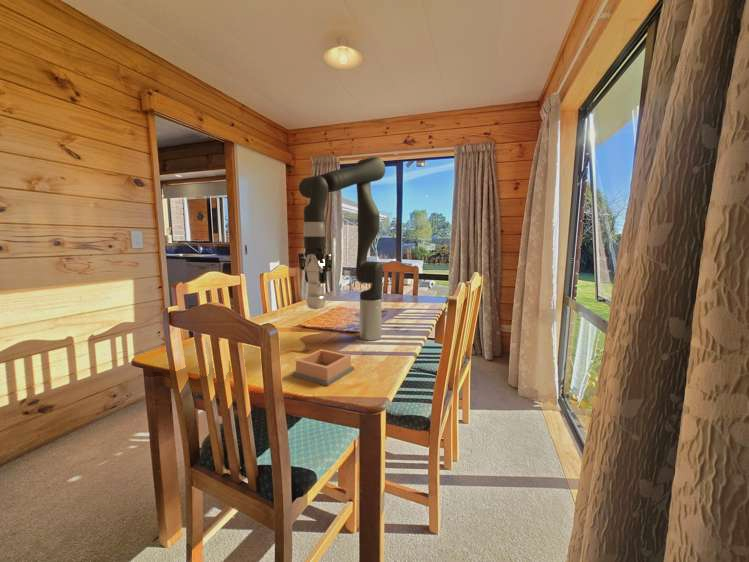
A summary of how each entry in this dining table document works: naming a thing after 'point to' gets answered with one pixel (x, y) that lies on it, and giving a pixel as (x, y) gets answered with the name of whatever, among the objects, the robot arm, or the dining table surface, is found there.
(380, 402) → the dining table surface
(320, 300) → the grey tall ridged piece
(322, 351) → the collar stand
